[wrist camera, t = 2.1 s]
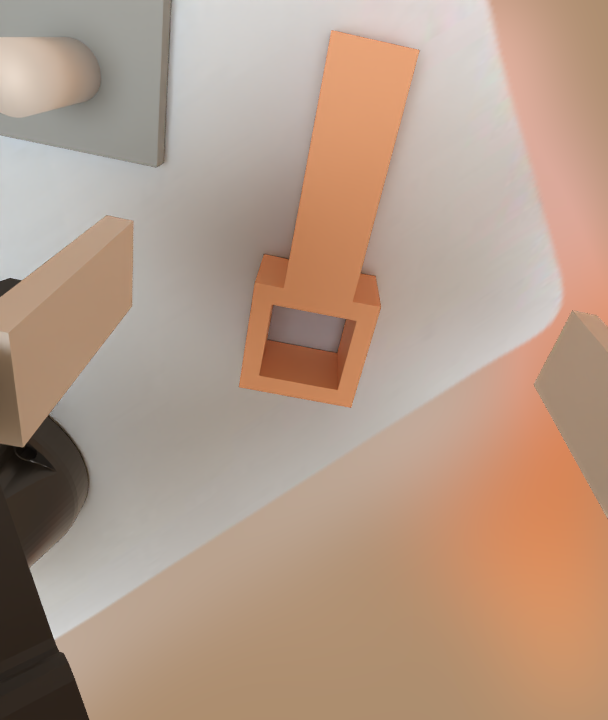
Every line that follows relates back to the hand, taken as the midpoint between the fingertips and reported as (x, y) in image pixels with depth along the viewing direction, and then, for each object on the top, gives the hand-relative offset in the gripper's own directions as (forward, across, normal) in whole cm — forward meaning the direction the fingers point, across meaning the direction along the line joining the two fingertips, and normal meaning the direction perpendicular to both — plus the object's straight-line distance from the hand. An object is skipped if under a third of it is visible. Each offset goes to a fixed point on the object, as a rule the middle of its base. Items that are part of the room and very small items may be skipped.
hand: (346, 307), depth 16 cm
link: (+14, 0, +2) cm, 14 cm away
